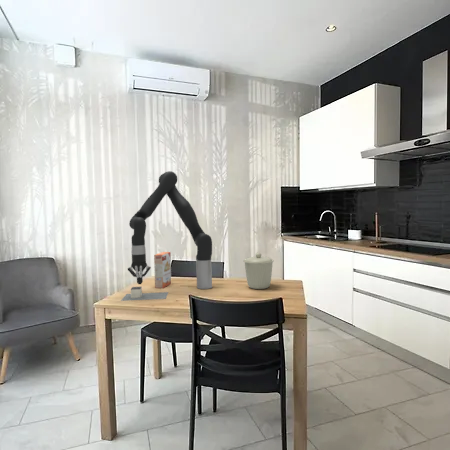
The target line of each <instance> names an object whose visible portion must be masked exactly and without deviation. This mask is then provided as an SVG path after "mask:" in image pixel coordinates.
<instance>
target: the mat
mask: <svg viewBox="0 0 450 450" xmlns="http://www.w3.org/2000/svg"><path fill="white" fill-rule="evenodd" d="M168 295H169V291H168V292H167V291H164V292H163V291H162V292H144V293H143V292H142V296H141V297H140V298H131V293H126V294H125V295H124V296H123V297H122V299H121V300H120V301H121V302H123V301H125V302H126V301H127V302H128V301H144V300H145V301H146V300H148V301H149V300H151V301H152V300H166V299H167V297H168Z"/></svg>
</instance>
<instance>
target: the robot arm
mask: <svg viewBox="0 0 450 450" xmlns="http://www.w3.org/2000/svg"><path fill="white" fill-rule="evenodd" d="M177 182H178V175H177V174H176V173H175V172H174V171H171V170H170V171H165V172H163V173H162V174H160V175H159V177H158V183H159V184H158V185H157V187H156V188H155V190H153V192H152V193H151V194H150V195H149V197H147V198H146V200H145V201H144V203H143V204H142V206H141V207H140V209H139V210H138V211H137V212H135V213H134V215H133V216H132V217H131V218H130V220H129V224H128V225H129V227H130V229H132V230H133V234H132V236H131V265H130V266H129V267H128V268H127V271H128V272H129V273H130V274H131V275H132V276H133V277H134V278H136V282H137V284H138V285H142V283H143V282H144V281H143V280H144V279H143V278H144V277H145V276H146V275H147V274H148V272H149V271H150V270H151V268H152V267H151V266H149V265H148V264H147V258H146V257H147V256H146V255H147V253H146V239H145V236H146V231H147V230H146V229H147V223H146V220H147V219H148V218H150V217H151V216H152V215H153V213H154V212H155V210H156V209H157V207H159V204H160V203H161V202H162V200H163V199H164V198H165V196H167V197H168V198H169V200H170V202H171V203H172V204H171V205H172V206H173V207H174V209H175V211H176V212H177V215H178V216H179V218H180V219H181V222H183V224H184V225H185V227H186V229H187V230H188V232H189V233H190V235H191V238H192V239H193V243H194V244H195V246H196V247H197V248H196V249H197V250H196V251H197V252H196V256H195V265H196V266H195V267H196V288H197V289H199V290H209V289H213V275H212V273H213V272H212V255H213V239H212V237H211V236H210V235H209V234H207V233H205V231H204V230H203V229H202V227H201V226H200V224H199V220H198V217H197V215H196V212H195V210H194V208H193V206H192V205H191V203H190V202H189V201H188V199H186V197H185V196H183V195H182V194H181V193H180V191H179V189H178V188H177V186H176V184H177ZM144 270H145V271H144Z"/></svg>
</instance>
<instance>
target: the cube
mask: <svg viewBox="0 0 450 450" xmlns="http://www.w3.org/2000/svg"><path fill="white" fill-rule="evenodd" d="M142 289H143V288H142V286H132V287H131V288H130V294H131V298H140V297H141V296H142V293H143V290H142Z"/></svg>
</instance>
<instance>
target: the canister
mask: <svg viewBox="0 0 450 450" xmlns="http://www.w3.org/2000/svg"><path fill="white" fill-rule="evenodd" d="M243 262H244V268H245V276H246V282H247V286H248V287H249V288H251V289H254V290H263V289H264V290H266V289H269V287H270V286H271V281H272V275H273V274H272V273H273V263H274V259H272V258H271V257H267V256H262V253H261V252H256V253H255V256H250V257H247V258H245V259H244V260H243Z"/></svg>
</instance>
